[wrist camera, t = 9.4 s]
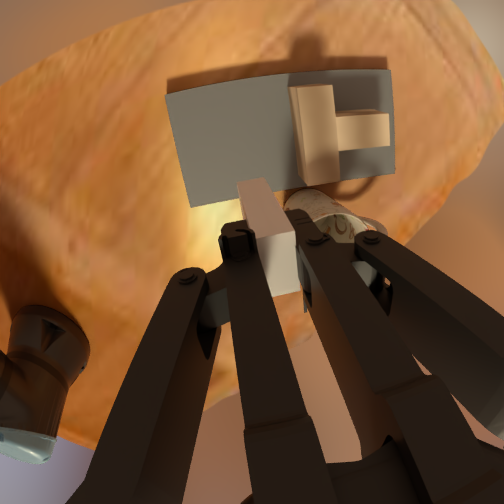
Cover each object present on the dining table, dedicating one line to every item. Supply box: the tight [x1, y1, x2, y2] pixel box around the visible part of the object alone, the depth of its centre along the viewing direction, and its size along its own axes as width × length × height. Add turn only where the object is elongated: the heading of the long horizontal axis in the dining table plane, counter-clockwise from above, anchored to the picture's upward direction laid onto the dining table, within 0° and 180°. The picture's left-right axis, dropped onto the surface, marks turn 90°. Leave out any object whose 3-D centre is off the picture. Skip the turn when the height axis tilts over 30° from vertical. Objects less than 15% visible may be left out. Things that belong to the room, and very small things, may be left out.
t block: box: [287, 84, 390, 186], centre depth 31 cm, size 10×10×4 cm
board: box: [165, 69, 395, 208], centre depth 33 cm, size 25×13×2 cm, turn 99°
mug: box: [284, 188, 388, 243], centre depth 35 cm, size 8×13×10 cm, turn 92°
